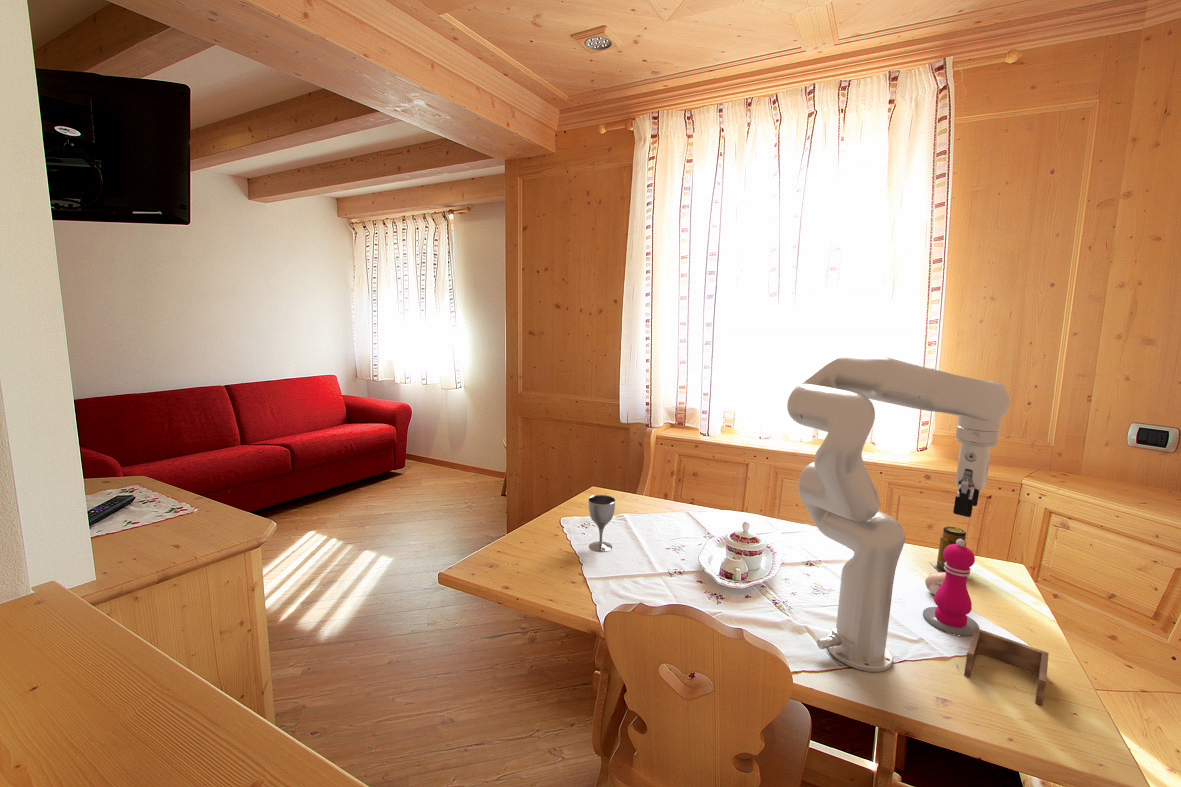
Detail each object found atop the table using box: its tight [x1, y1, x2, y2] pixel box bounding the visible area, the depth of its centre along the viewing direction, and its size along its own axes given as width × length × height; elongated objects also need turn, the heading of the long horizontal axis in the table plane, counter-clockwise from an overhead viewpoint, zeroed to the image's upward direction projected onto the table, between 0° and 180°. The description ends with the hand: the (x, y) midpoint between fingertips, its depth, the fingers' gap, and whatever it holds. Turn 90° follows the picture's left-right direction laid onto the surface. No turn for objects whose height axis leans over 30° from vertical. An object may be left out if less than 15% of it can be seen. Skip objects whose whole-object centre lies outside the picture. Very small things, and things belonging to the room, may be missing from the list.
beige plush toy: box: [924, 571, 946, 596], centre depth 135 cm, size 7×6×8 cm
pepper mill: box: [933, 539, 976, 627], centre depth 122 cm, size 7×7×20 cm
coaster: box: [922, 606, 980, 637], centre depth 124 cm, size 11×11×1 cm
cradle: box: [963, 628, 1050, 707], centre depth 105 cm, size 12×12×5 cm
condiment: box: [929, 525, 972, 580], centre depth 148 cm, size 7×8×12 cm
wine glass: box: [588, 494, 616, 553], centre depth 158 cm, size 8×8×15 cm
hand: (965, 509), depth 119 cm, fingers open, 9 cm apart
